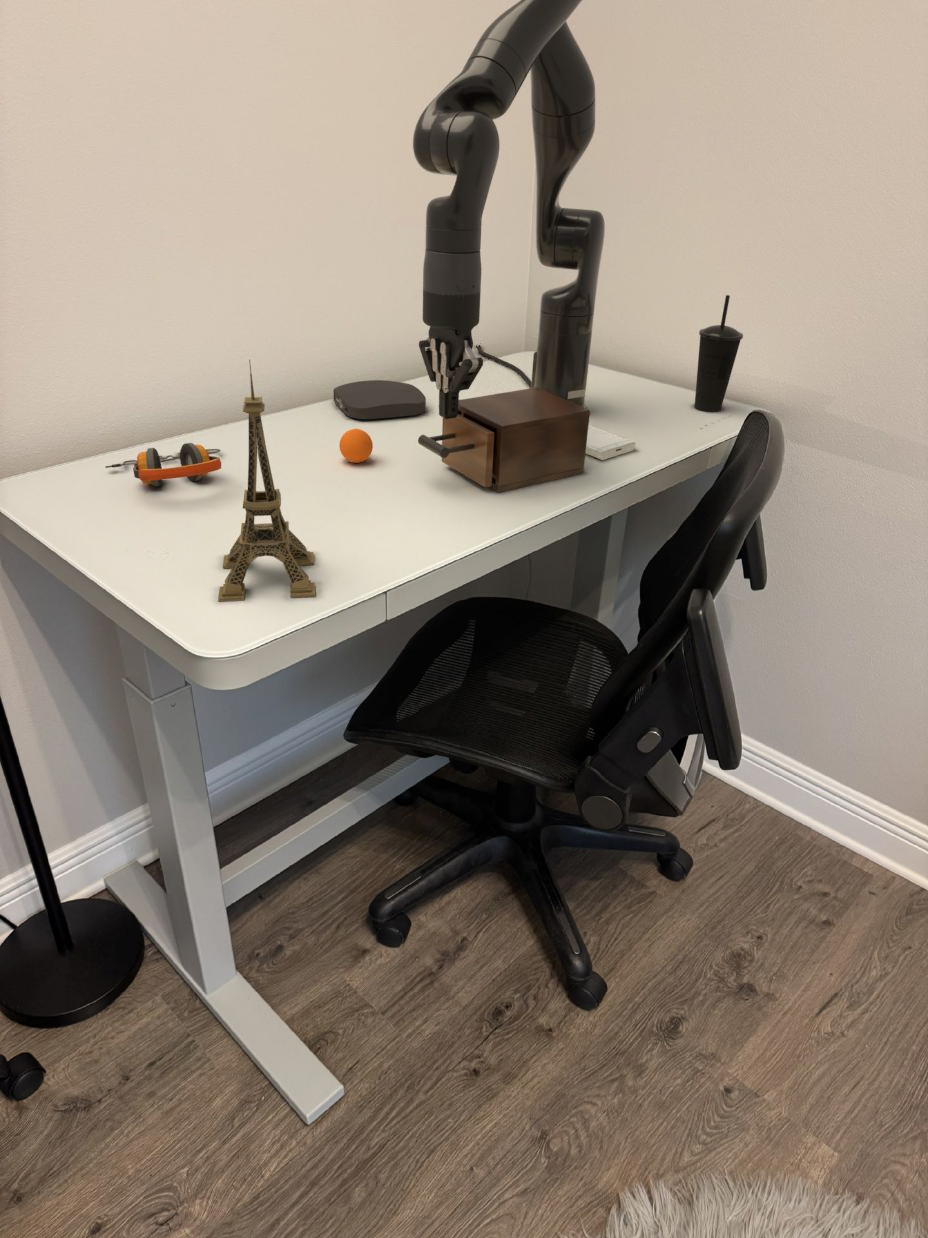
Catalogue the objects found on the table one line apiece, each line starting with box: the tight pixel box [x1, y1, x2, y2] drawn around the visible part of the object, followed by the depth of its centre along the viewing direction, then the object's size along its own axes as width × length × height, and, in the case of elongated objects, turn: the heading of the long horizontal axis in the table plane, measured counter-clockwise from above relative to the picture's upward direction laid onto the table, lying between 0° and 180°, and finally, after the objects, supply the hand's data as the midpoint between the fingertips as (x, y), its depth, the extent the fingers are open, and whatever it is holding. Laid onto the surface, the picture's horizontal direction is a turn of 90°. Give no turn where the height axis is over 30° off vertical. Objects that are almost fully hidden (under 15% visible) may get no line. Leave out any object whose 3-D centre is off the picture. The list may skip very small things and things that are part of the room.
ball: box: [339, 428, 374, 464], centre depth 135 cm, size 5×5×5 cm
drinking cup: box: [694, 294, 744, 413], centre depth 161 cm, size 8×8×20 cm
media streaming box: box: [333, 379, 427, 420], centre depth 159 cm, size 15×15×3 cm
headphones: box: [104, 442, 222, 487], centre depth 126 cm, size 17×5×20 cm
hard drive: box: [585, 424, 636, 461], centre depth 146 cm, size 2×8×12 cm
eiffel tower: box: [217, 359, 316, 602], centre depth 97 cm, size 11×11×25 cm
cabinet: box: [458, 387, 591, 493], centre depth 133 cm, size 16×13×10 cm
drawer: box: [417, 412, 498, 488], centre depth 131 cm, size 20×12×8 cm, turn 123°
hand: (448, 416), depth 125 cm, fingers closed
